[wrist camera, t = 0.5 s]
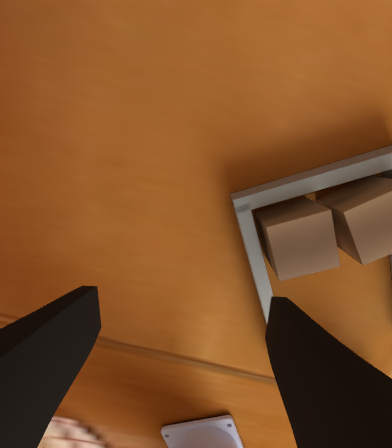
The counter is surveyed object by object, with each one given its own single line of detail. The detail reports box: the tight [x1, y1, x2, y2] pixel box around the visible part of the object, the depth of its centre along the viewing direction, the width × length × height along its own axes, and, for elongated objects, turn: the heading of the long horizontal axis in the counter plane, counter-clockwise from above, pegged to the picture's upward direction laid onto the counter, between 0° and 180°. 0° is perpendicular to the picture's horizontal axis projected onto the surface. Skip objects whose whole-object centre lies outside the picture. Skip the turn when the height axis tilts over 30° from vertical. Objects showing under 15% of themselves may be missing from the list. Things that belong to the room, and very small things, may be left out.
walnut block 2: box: [316, 176, 392, 265], centre depth 17 cm, size 4×4×4 cm
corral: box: [230, 145, 392, 326], centre depth 19 cm, size 16×12×2 cm
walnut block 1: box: [255, 198, 340, 281], centre depth 17 cm, size 4×4×4 cm
